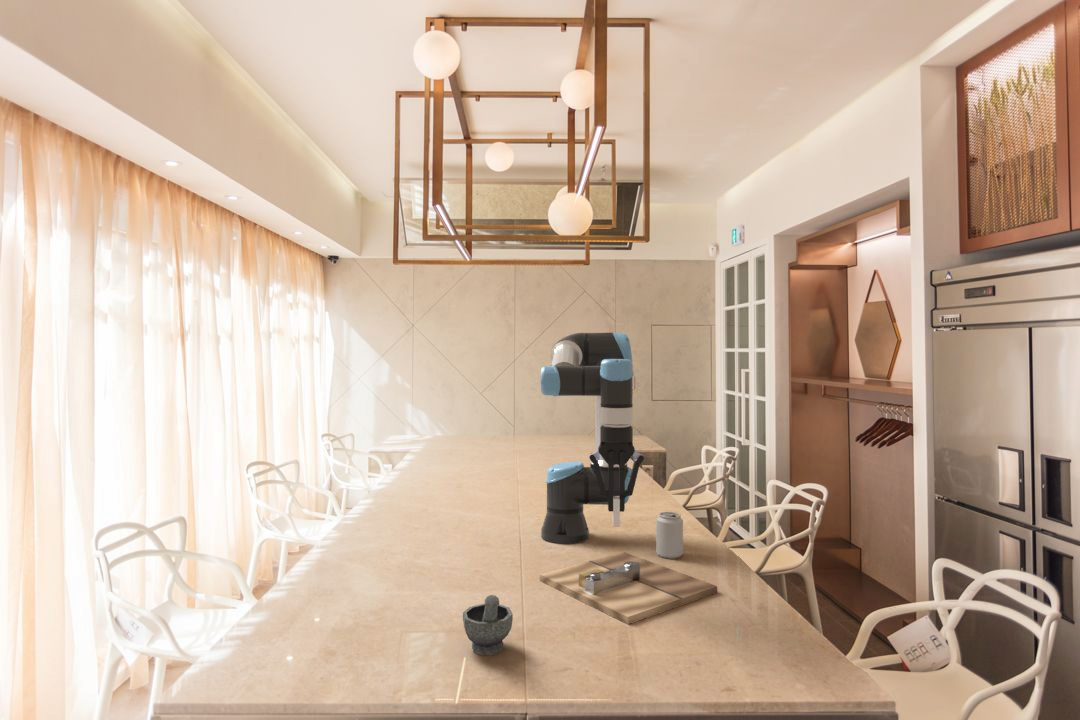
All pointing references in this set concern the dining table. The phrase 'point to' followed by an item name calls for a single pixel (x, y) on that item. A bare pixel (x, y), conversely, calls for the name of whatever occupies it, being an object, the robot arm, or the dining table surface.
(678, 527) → the can
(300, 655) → the dining table surface
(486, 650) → the mortar and pestle
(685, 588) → the door board
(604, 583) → the bar
